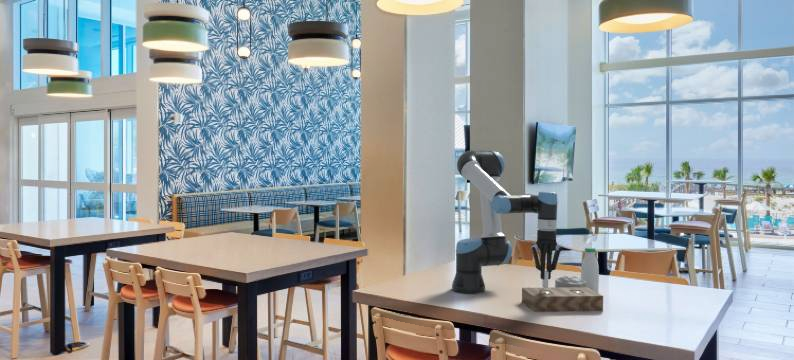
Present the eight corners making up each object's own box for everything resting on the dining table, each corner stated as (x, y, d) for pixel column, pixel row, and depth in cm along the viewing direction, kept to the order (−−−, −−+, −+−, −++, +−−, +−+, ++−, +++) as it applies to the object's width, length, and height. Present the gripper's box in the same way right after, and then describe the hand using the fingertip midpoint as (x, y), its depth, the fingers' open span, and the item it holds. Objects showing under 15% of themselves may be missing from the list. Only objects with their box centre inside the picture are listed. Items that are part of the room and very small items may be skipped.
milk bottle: (599, 293, 257) (600, 249, 256) (581, 293, 258) (582, 248, 258) (597, 290, 264) (598, 247, 264) (579, 289, 266) (580, 246, 265)
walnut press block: (533, 311, 225) (534, 296, 225) (521, 301, 241) (522, 287, 240) (602, 311, 227) (603, 295, 227) (586, 301, 243) (586, 287, 243)
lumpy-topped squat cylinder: (576, 301, 243) (577, 281, 242) (549, 296, 252) (550, 276, 252) (588, 297, 250) (589, 278, 249) (562, 292, 259) (562, 273, 259)
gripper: (534, 230, 228) (532, 289, 229) (565, 230, 229) (564, 289, 230) (528, 228, 236) (526, 285, 237) (559, 228, 237) (557, 285, 238)
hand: (545, 287), depth 233 cm, fingers closed
